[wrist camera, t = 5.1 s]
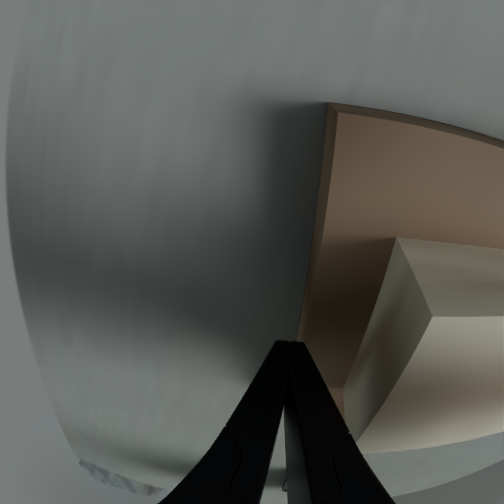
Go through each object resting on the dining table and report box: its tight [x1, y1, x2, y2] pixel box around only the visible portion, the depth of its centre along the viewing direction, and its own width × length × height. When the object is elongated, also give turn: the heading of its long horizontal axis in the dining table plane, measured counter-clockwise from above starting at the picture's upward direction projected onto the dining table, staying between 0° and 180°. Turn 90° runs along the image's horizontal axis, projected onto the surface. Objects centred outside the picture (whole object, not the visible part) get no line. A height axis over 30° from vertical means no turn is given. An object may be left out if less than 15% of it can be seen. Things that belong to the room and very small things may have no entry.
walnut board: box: [296, 102, 504, 421], centre depth 10 cm, size 13×13×2 cm
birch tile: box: [343, 237, 504, 454], centre depth 8 cm, size 7×8×3 cm
